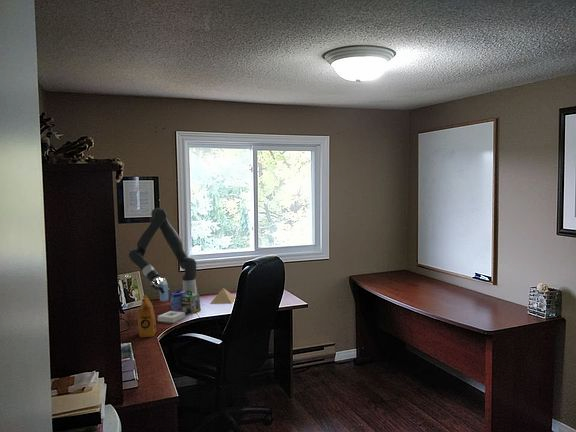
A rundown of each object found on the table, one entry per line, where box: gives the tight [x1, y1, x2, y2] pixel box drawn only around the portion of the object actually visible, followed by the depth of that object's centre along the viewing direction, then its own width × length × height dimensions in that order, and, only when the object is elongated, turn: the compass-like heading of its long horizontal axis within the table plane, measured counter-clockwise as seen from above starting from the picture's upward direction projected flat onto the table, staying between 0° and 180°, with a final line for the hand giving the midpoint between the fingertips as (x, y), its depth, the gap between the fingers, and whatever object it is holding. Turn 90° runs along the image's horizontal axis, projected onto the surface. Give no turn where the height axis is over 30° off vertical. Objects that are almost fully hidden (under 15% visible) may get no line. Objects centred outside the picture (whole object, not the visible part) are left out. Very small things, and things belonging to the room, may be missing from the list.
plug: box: [158, 280, 170, 302], centre depth 297 cm, size 4×4×13 cm
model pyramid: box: [209, 288, 236, 305], centre depth 327 cm, size 17×17×10 cm
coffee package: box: [137, 294, 157, 339], centre depth 257 cm, size 10×12×22 cm
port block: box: [157, 310, 186, 324], centre depth 285 cm, size 12×12×4 cm
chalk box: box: [181, 290, 201, 315], centre depth 302 cm, size 9×9×15 cm
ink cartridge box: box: [169, 289, 186, 312], centre depth 307 cm, size 10×6×14 cm, turn 135°
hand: (166, 291), depth 296 cm, fingers closed on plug, 4 cm apart
